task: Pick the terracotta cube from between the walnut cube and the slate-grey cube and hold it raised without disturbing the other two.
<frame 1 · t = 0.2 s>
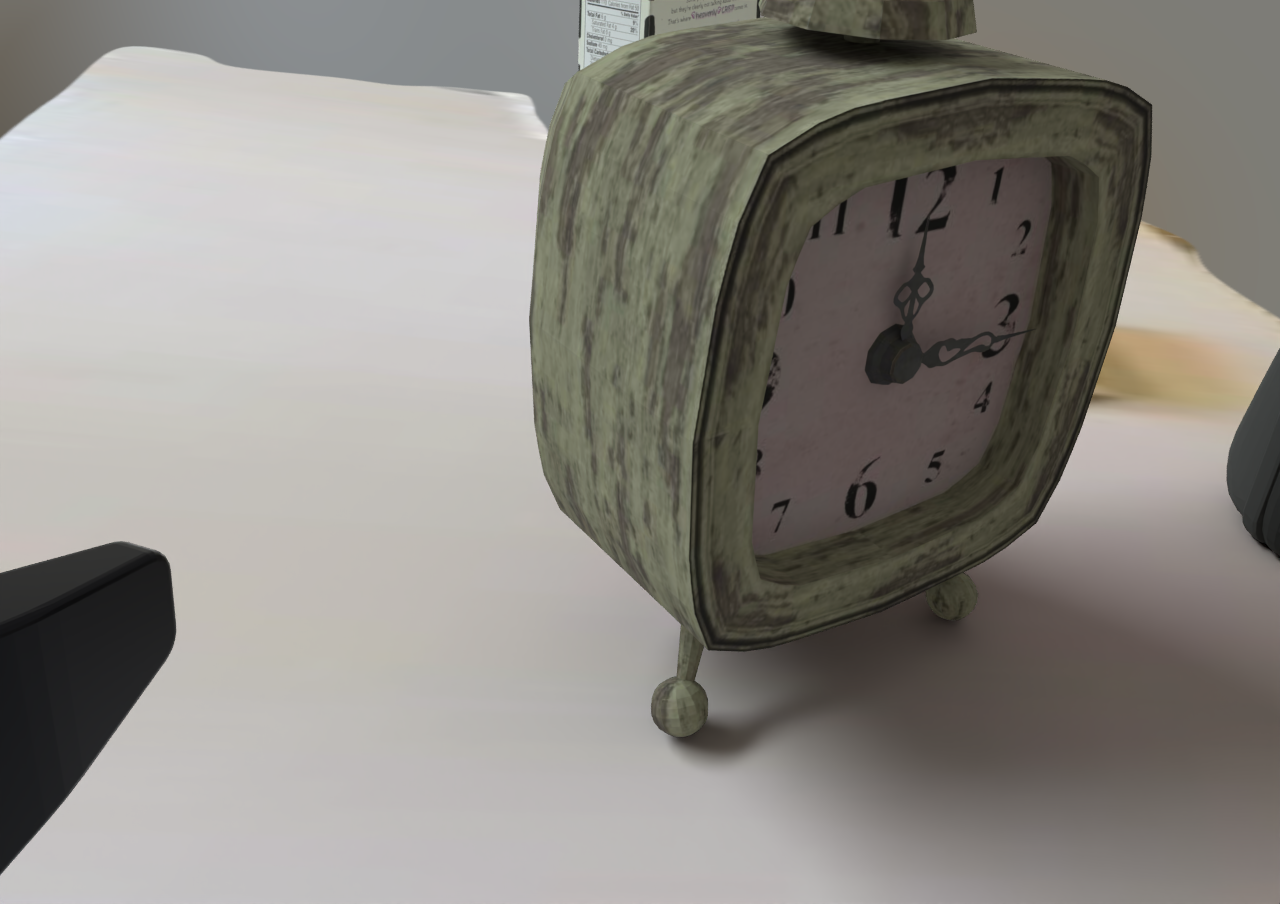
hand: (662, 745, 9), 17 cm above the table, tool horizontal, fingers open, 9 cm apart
tabletop clock: (763, 625, 38), on the table
candy bar box: (657, 225, 70), on the table
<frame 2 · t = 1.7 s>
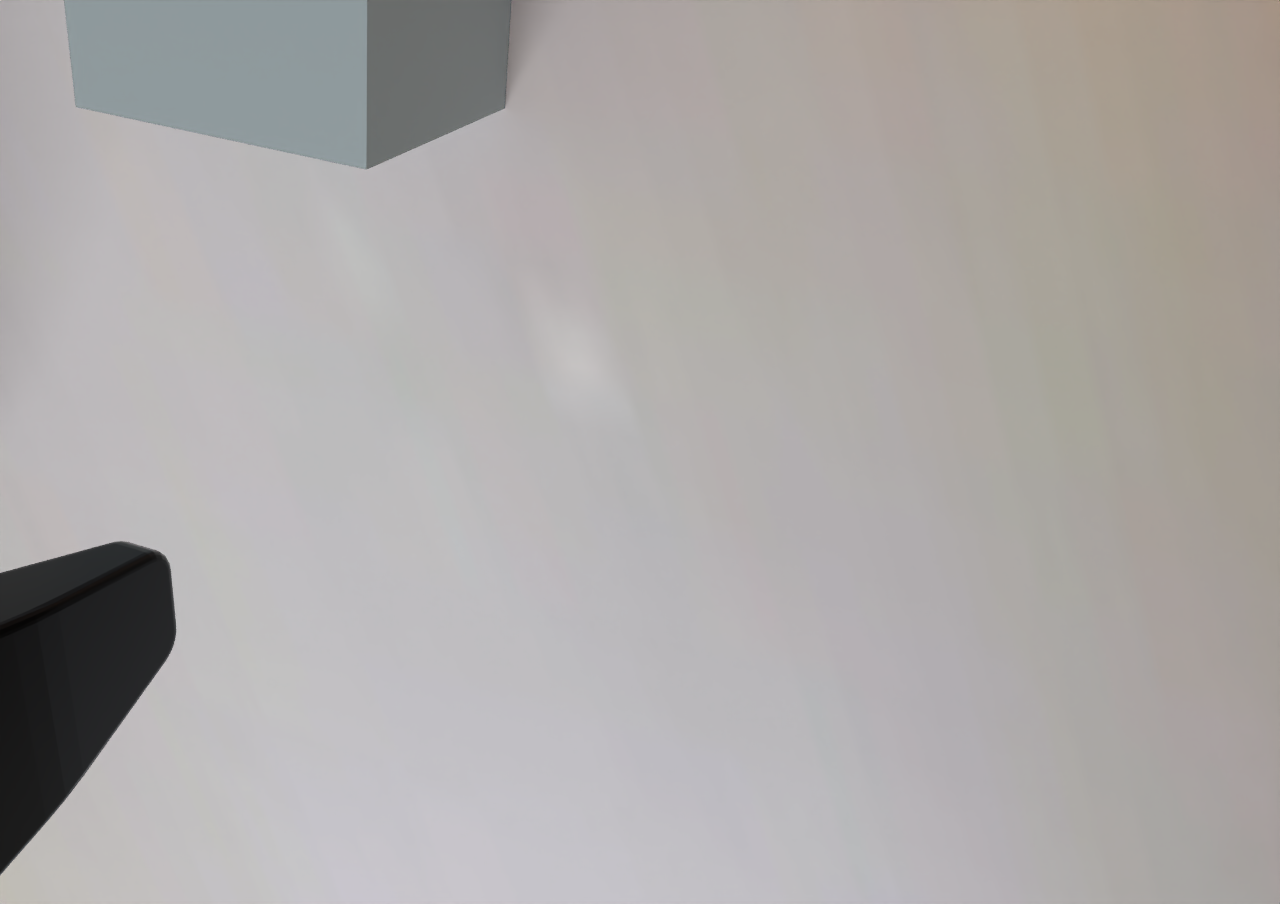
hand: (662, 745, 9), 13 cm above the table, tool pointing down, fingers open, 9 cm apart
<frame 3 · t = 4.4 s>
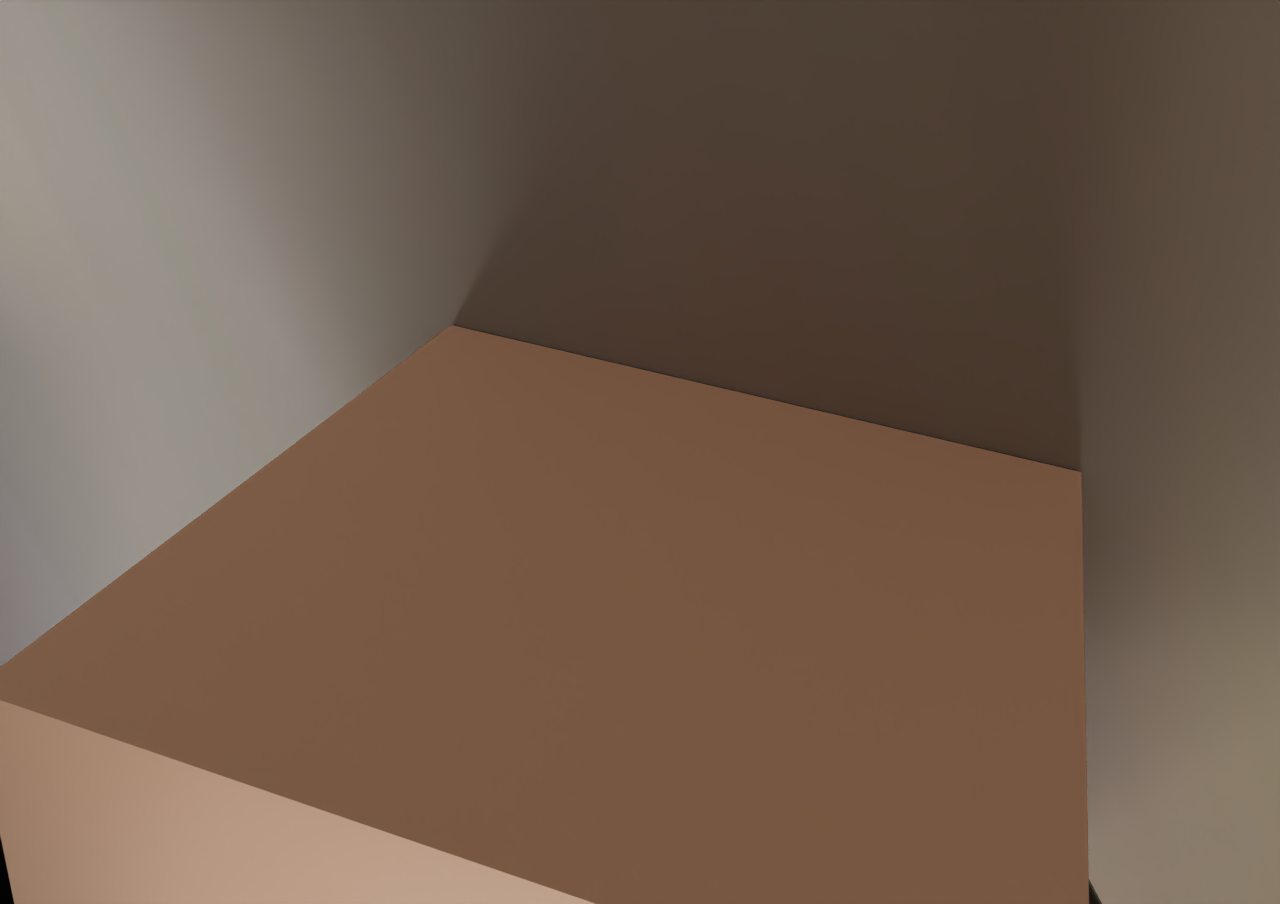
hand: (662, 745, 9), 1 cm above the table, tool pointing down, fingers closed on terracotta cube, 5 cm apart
terracotta cube: (704, 652, 10), on the table, touching gripper
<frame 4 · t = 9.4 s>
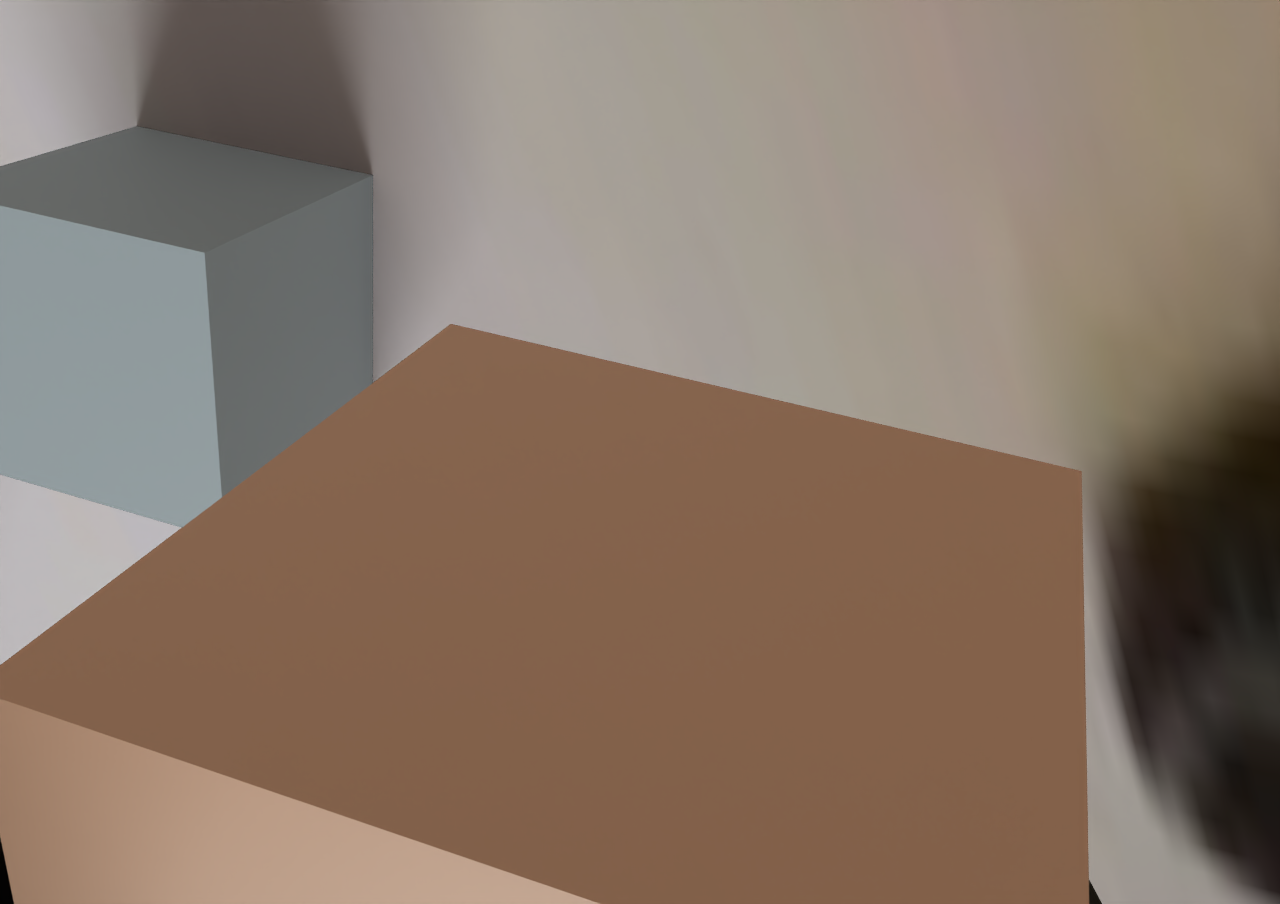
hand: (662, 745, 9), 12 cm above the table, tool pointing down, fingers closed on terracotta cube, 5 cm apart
slate grey cube: (260, 275, 23), on the table
terracotta cube: (704, 651, 10), point 11 cm above the table, touching gripper
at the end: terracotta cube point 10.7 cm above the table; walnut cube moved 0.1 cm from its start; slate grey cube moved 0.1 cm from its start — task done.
